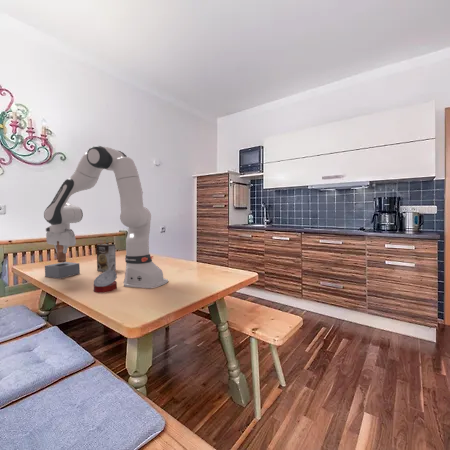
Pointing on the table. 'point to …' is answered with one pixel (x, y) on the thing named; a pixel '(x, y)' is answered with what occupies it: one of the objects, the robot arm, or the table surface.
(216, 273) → the table surface
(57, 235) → the robot arm
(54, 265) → the socket block
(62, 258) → the terracotta peg
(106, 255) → the coffee box
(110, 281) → the canned food
